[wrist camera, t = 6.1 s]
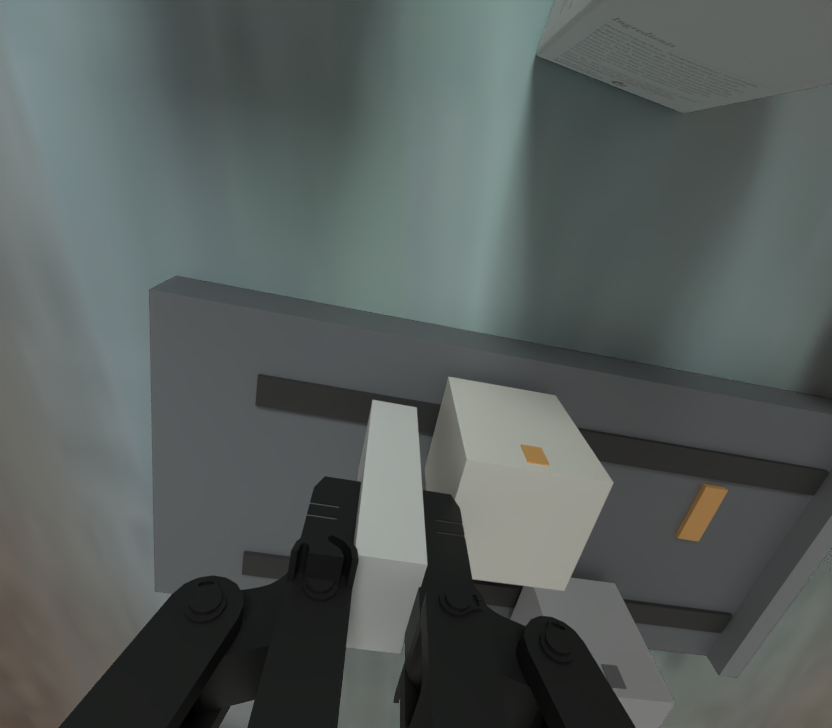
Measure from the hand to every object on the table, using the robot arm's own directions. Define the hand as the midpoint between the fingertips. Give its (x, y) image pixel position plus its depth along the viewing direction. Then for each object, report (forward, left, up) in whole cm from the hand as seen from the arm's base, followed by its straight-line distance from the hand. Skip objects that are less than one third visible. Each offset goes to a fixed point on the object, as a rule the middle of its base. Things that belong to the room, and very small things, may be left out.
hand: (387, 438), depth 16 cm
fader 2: (+9, +9, -1) cm, 13 cm away
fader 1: (0, +4, -1) cm, 4 cm away
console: (+4, +5, -4) cm, 8 cm away
